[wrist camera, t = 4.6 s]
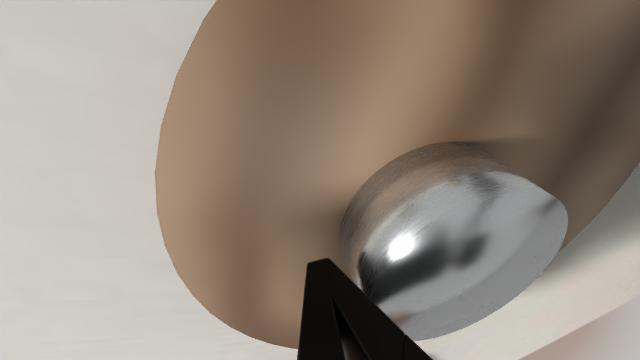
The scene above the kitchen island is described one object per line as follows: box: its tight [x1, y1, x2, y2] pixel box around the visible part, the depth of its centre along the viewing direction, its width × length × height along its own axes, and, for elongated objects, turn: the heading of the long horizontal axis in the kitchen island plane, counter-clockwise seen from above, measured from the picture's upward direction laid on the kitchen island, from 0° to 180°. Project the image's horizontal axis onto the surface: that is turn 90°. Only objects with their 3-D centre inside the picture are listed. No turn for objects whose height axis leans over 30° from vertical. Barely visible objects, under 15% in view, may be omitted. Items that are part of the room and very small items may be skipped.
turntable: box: [155, 0, 640, 349], centre depth 11 cm, size 21×21×4 cm
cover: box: [338, 142, 568, 341], centre depth 10 cm, size 7×7×3 cm
